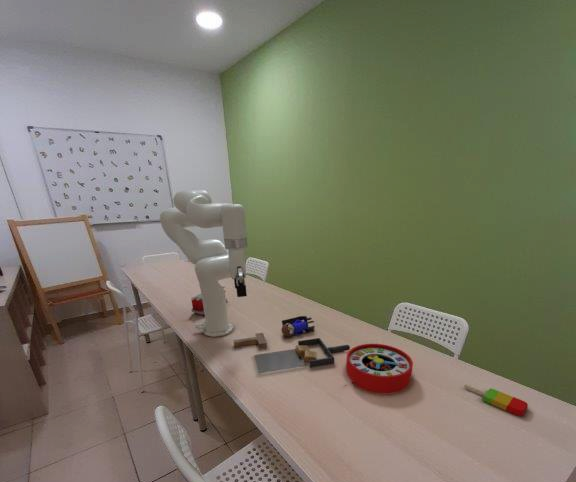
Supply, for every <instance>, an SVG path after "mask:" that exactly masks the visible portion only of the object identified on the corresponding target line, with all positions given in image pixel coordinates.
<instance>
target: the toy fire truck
mask: <svg viewBox="0 0 576 482" xmlns="http://www.w3.org/2000/svg"><path fill="white" fill-rule="evenodd" d="M222 287H223V288H224V289H225V288H226V286H222ZM190 299H191V306H192V308H191V313H195V314H197V315H205V314H204V307H203V301H202V295H201V293H199V294H197V295H195V296H193V297H190ZM228 303H229V301H228V299H227V298H226V304H228Z"/></svg>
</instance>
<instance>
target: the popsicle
mask: <svg viewBox="0 0 576 482" xmlns="http://www.w3.org/2000/svg"><path fill="white" fill-rule="evenodd" d="M463 387H464V388H467V389H469V390H472V391H474V392H476V393H478V394H481V395H483V396H482V398H481V399H482V402H484V403H487V404H489V405H492V406H494V407H496V408H499V409H501V410H504V411H506V412H507V413H508V412H509V413H511V414H513V415H516V416H520V417H522V416H524V415H525V413H526V411H527V409H528V406H529V405H528V403H527V401H525V400H524V399H523V400H522V399H520V398H518V397H515V396H512V395H510V394H507V393H506V392H505V393H504V392H502V391H499V390H496V389H494V388H489V389H488V390H487V391H486V392H485V391H483V390H481V389H478V388H475V387H473V386H470V385H468V384H464V385H463Z"/></svg>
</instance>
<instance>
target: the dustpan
mask: <svg viewBox="0 0 576 482" xmlns="http://www.w3.org/2000/svg"><path fill="white" fill-rule="evenodd" d="M297 345H306V346H307V347H310V346H317V345H319V347H320V348H321V349H322V351H323V353H324V354H325V355H326V357H324V358H318V359H317V358H316V360H311V361H310V363H309V368H317V367H323V366H328V365H334V364H335V356H334V355H333V353H340V352H345V351H350V350H351V346H350V344H343V345H337V346H330V347H329V346H328V347H327V345H326V344H325V343H324V342H323V340H322V339H321V338H320V337H315V338H310V339H302V340H297Z"/></svg>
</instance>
